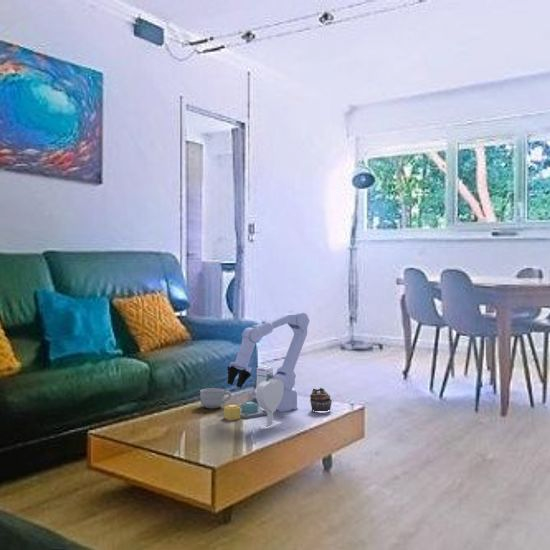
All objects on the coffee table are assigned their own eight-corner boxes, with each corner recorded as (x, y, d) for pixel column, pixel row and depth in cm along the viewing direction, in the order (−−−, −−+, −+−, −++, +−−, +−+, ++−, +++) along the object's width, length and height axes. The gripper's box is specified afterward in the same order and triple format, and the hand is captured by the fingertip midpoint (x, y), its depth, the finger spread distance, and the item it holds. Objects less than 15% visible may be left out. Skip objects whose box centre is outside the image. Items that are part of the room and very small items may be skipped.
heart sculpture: (275, 419, 258) (275, 376, 257) (285, 421, 255) (285, 378, 255) (254, 428, 245) (254, 383, 244) (264, 430, 242) (264, 384, 241)
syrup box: (266, 398, 295) (266, 368, 294) (256, 396, 298) (256, 367, 298) (273, 396, 299) (273, 366, 299) (263, 394, 303) (263, 365, 302)
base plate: (254, 408, 275) (254, 398, 275) (268, 414, 265) (269, 403, 265) (230, 412, 268) (230, 401, 268) (245, 418, 258) (245, 407, 258)
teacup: (196, 409, 274) (196, 391, 274) (205, 403, 285) (205, 386, 284) (225, 411, 270) (225, 393, 270) (234, 405, 281) (234, 388, 280)
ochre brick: (234, 416, 263) (234, 403, 263) (240, 418, 259) (240, 406, 258) (223, 417, 260) (224, 405, 260) (229, 420, 256) (230, 407, 256)
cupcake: (320, 415, 265) (320, 392, 265) (305, 410, 273) (305, 388, 273) (336, 411, 272) (336, 389, 271) (321, 407, 279) (321, 385, 279)
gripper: (228, 350, 266) (218, 380, 264) (246, 354, 254) (235, 386, 252) (241, 354, 270) (231, 384, 267) (259, 359, 258) (248, 390, 255)
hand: (234, 385), depth 260 cm, fingers open, 7 cm apart
